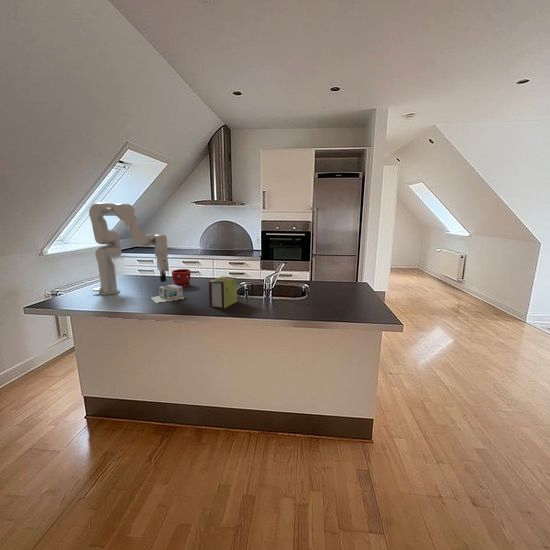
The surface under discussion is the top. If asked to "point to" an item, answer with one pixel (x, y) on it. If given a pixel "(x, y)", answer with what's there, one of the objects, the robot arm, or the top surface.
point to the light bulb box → (170, 291)
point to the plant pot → (181, 277)
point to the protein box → (223, 291)
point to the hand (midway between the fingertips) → (163, 281)
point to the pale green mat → (164, 299)
